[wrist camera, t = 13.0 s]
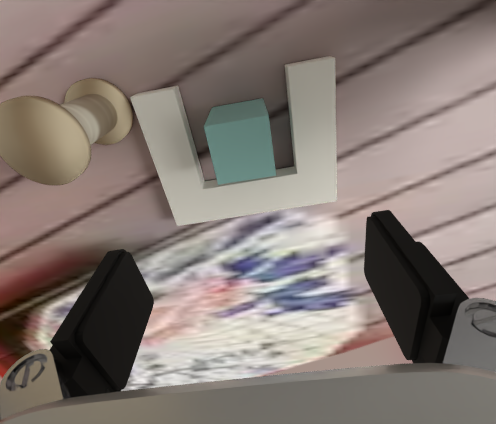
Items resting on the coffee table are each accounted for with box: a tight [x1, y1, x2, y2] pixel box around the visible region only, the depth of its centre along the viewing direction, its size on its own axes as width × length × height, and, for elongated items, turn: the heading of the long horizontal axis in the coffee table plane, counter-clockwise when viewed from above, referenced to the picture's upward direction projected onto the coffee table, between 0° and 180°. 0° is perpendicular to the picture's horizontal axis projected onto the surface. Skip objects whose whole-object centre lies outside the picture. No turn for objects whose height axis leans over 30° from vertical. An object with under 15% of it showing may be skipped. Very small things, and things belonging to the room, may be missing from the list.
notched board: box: [130, 56, 337, 226], centre depth 29 cm, size 18×14×2 cm
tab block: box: [204, 98, 276, 185], centre depth 26 cm, size 5×5×7 cm
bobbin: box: [0, 78, 133, 185], centre depth 24 cm, size 6×6×10 cm
